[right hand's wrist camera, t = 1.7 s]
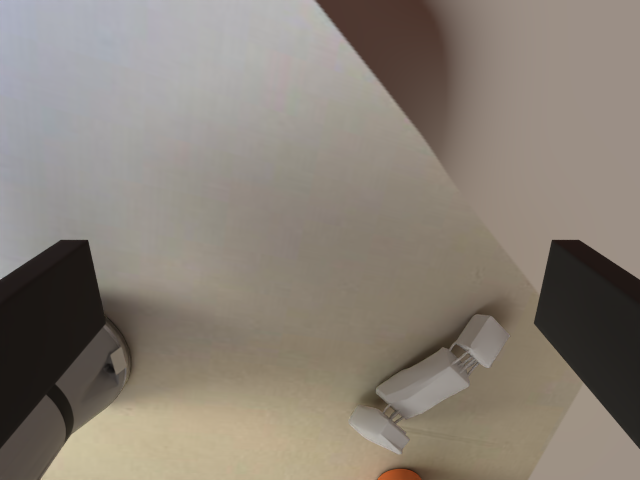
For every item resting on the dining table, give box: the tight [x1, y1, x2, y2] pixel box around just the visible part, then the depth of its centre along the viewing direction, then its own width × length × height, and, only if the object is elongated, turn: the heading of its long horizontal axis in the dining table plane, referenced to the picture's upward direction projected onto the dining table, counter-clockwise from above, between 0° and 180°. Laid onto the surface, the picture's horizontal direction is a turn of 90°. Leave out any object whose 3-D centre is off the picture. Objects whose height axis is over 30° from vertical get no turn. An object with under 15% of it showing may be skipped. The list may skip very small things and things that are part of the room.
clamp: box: [349, 314, 510, 454], centre depth 45 cm, size 20×4×7 cm, turn 134°
